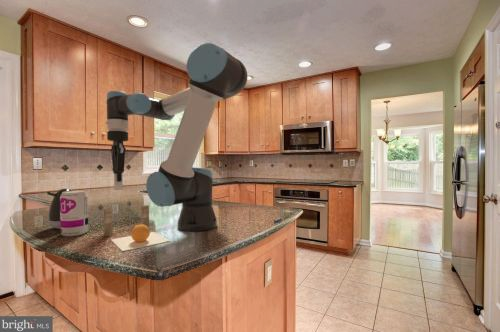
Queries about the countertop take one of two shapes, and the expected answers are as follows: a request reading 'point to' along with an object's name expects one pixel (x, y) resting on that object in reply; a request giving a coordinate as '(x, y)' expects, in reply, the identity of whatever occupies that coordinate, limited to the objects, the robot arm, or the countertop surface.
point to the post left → (108, 222)
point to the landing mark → (130, 244)
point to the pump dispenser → (55, 208)
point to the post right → (145, 215)
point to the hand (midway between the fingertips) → (118, 189)
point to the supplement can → (73, 213)
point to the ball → (140, 233)
